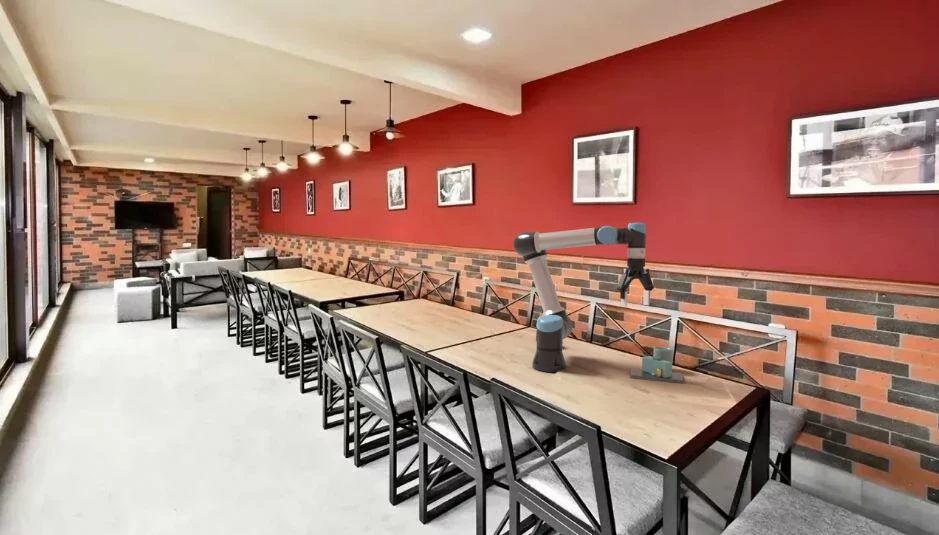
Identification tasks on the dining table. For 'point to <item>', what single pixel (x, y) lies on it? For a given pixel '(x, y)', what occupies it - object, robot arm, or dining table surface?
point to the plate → (655, 376)
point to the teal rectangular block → (656, 366)
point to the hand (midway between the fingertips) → (635, 305)
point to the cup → (664, 353)
